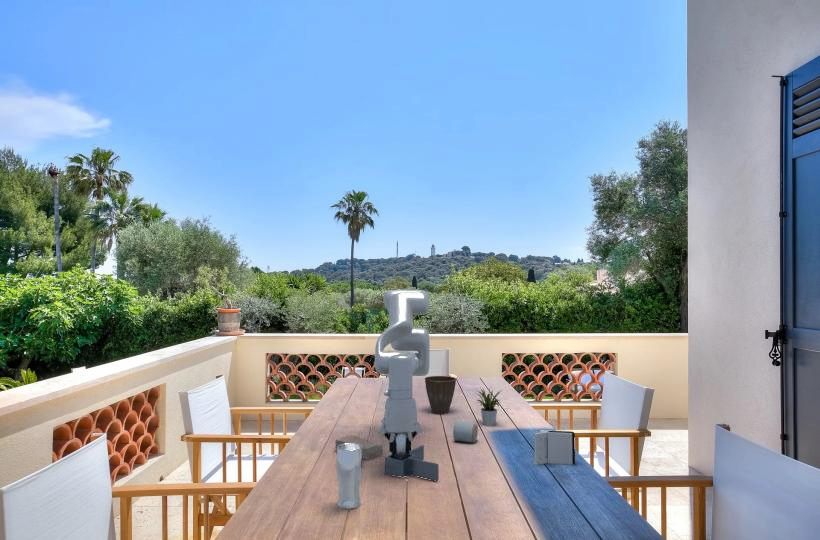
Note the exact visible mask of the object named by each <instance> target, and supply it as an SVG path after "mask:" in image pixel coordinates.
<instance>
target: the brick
mask: <svg viewBox="0 0 820 540" xmlns="http://www.w3.org/2000/svg"><path fill="white" fill-rule="evenodd" d="M345 443H357V444H360V445H362V455H363V460H366V461H372V460H374V459H377V458H381V457H383V456H384V449H383V448H384V444H383V443H381V442H378V441H373V440H367V439H366V438H363V437H360V436H357V435H355V434H348V435H345V436H342V437H339V438H337V439H335V451H336V452H337V447H338V446H339V445H341V444H345Z"/></svg>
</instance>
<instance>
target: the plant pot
mask: <svg viewBox="0 0 820 540" xmlns="http://www.w3.org/2000/svg"><path fill="white" fill-rule="evenodd" d="M456 382H457V378H456V377H453V376H447V375H431V376H430V375H429V376H426V377H425V378H424V383H425V388H426V389H425V391H426V395H427V399H428V403H429V406H430V409H431V412H432V413H433V414H435V413H436V415H445V413H446V414H448V413H449V411H450V408H451V405H452V402H453V398H454V396H455V395H454V394H455V389H456V384H457V383H456Z"/></svg>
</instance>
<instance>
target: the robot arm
mask: <svg viewBox="0 0 820 540" xmlns="http://www.w3.org/2000/svg"><path fill="white" fill-rule="evenodd" d="M382 299H383V304H384V306H385V308H386V310H387V312H388V327H387V328H386V329H384V330H383V332H382V333H381V334H380V335H379V337H378V338H377V341H376V343H375V348H374V351H375V352H374V368H375V371H376V373H378V374H380V375H387V376H388V389H387V390H384V391H383V396H386V397H387V398H386V400H385V406H384V414H383V415H384V417H382V420H381V425H380V427H379V428H378V430H377V431H378V433H379V434H380V435H382V436H384V437H385V438H386V439H387V440H388V441H389V442H388V443H389V445H388V446H389V447H388V449H389V450H388V451H389V453H390V454H392V455H395V442H394V435H395V433H404V432H407V454H410V451H411V450H412V441H413V440H414V438H416V436H417V435H418V434H419V433H420V432H422V431H423V428H422V426H421V425H420V423H419V422H418V410H417V402H416V398H414V397H413V377H424V376H427V375H428V374H429V371H430V356H431V355H430V342H431V341H430V334H429V331H428V329H426V328H424V327H414V325H413V324H414V323H413V322H414V320H413V316H425V315H427V314H428V313H429V309H430V298H429V295H428V293H427V291H426V290H425V289H389V290H387V291H385V292H383V298H382ZM388 345H390V346H391V348H392V349H393V350H394V351H393V350H389V351H388V350H386V351H385V350H384V349H385V348H386V347H387V346H388Z"/></svg>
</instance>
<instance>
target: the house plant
mask: <svg viewBox="0 0 820 540" xmlns="http://www.w3.org/2000/svg"><path fill="white" fill-rule="evenodd" d="M494 389H495V388H493V389H492V390H491V388H489V389H488V392H489V393H488V394H486V391H485V390H484V388H483V387H481V388H480V391H479V390H478V389H476V392H477V395H478V396H479V398H480V399H477V400H476V402H478V403H480V406H483V407H482V408H480V414H481V419H482V420H481V421H482V424H483V426H488V425H493V426H495V425H496V422H497V414H498V409H497V408H495V407H496V406H498V407H499V408H500V404H499V403H500V399H497V396H499V394H501V392H502V391H503V389H501V390H499V391H498V392H497V393H496V394H495V395H493V394H494V393H493V392H494V391H493V390H494ZM490 390H491V391H490ZM478 393H479V394H478ZM478 403H477V404H478Z"/></svg>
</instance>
